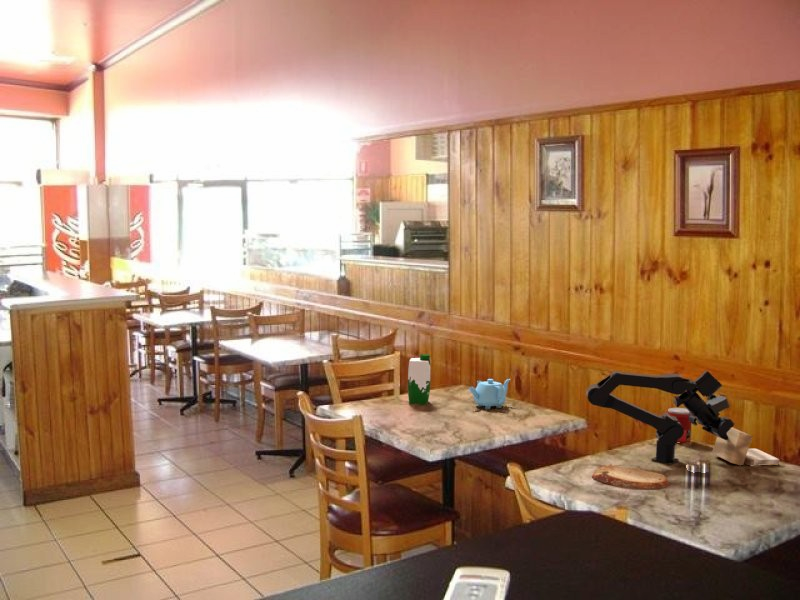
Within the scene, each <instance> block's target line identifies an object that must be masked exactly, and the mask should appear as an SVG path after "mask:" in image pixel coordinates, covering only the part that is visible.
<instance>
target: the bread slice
mask: <svg viewBox="0 0 800 600" xmlns="http://www.w3.org/2000/svg"><path fill="white" fill-rule="evenodd" d="M591 479H593V481H597V482H601V483H602V484H605V485H610V486H616V487H619V488H620V487H621V488H629V489H630V488H631V489H661V488H666V487H668V486H669V485H670V482H669V480H668V478H667V477H666V475H663V474H662V473H659V472H654V471H649V470H643V469H639V468H631V467H624V466H619V465H612V464H608V465H604V466H601V467H599V468H598V469H596V470H594V472H593V474H592V475H591Z"/></svg>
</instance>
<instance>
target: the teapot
mask: <svg viewBox="0 0 800 600" xmlns="http://www.w3.org/2000/svg"><path fill="white" fill-rule="evenodd" d="M510 381H511V378H507V379H505V380H504V383H503V384H502V383H501V382H498V381H494V379H493V378H488V379H487V381H482V380H476V384H477V385H476V387H475V388H474V386H470V387H469V388H468V391H469V392H470V393H471V394H472V396H473V401H474V402H475V404H476V405H477V407H484V409H485V410H490V409H491V407H495V408H497V409H501V408H503V407H502V406H503V405H504V404H505V403H506V401H507V394H508V384H509V382H510Z"/></svg>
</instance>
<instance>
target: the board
mask: <svg viewBox="0 0 800 600" xmlns="http://www.w3.org/2000/svg"><path fill="white" fill-rule="evenodd" d="M744 463H746V464H748V465H759V464H779V465H780V459H779V458H777V457H776V456H774V455H771V454H769V453H766V452H764V451H762V450H760V449H758V448H748V451H747V454H746V457H745V460H744ZM744 463H743V464H744ZM746 464H745V465H746ZM748 465H747V466H748Z"/></svg>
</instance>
